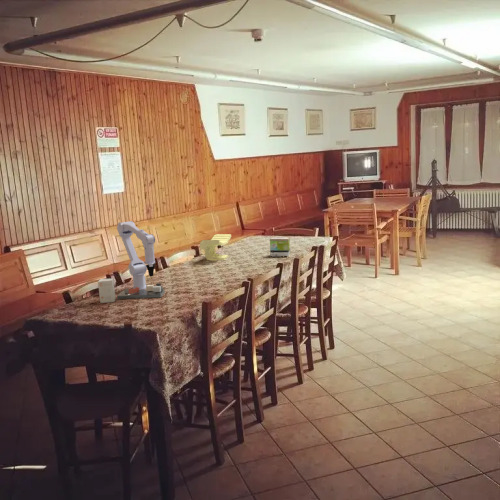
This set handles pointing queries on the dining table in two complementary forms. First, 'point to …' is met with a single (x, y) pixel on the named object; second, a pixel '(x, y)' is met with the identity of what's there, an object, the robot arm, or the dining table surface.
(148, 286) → the cream block
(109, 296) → the small box
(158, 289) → the grey block
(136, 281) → the robot arm
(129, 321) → the dining table surface
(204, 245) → the slatted curved stool
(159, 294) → the console
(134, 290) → the red lever
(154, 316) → the dining table surface
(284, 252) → the tea box
